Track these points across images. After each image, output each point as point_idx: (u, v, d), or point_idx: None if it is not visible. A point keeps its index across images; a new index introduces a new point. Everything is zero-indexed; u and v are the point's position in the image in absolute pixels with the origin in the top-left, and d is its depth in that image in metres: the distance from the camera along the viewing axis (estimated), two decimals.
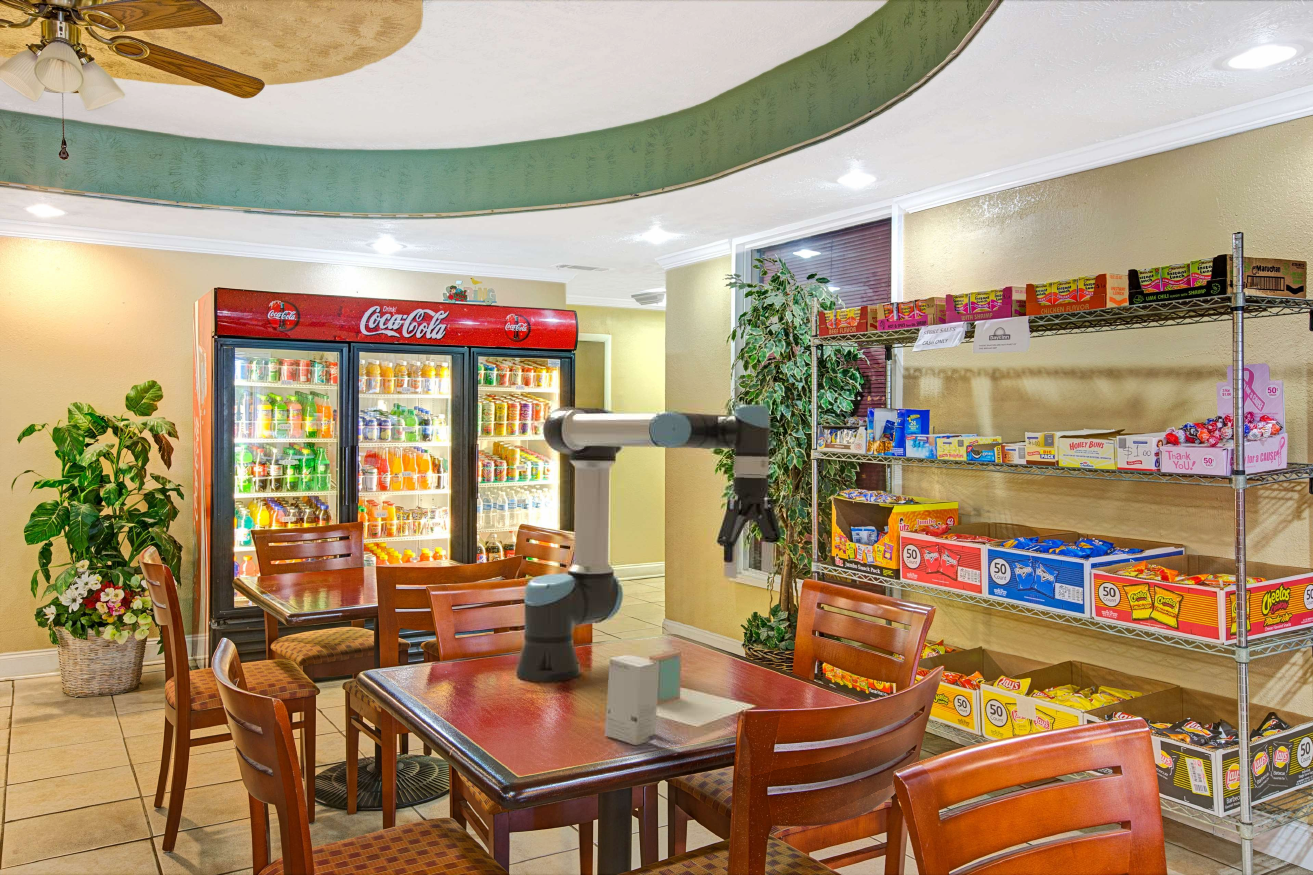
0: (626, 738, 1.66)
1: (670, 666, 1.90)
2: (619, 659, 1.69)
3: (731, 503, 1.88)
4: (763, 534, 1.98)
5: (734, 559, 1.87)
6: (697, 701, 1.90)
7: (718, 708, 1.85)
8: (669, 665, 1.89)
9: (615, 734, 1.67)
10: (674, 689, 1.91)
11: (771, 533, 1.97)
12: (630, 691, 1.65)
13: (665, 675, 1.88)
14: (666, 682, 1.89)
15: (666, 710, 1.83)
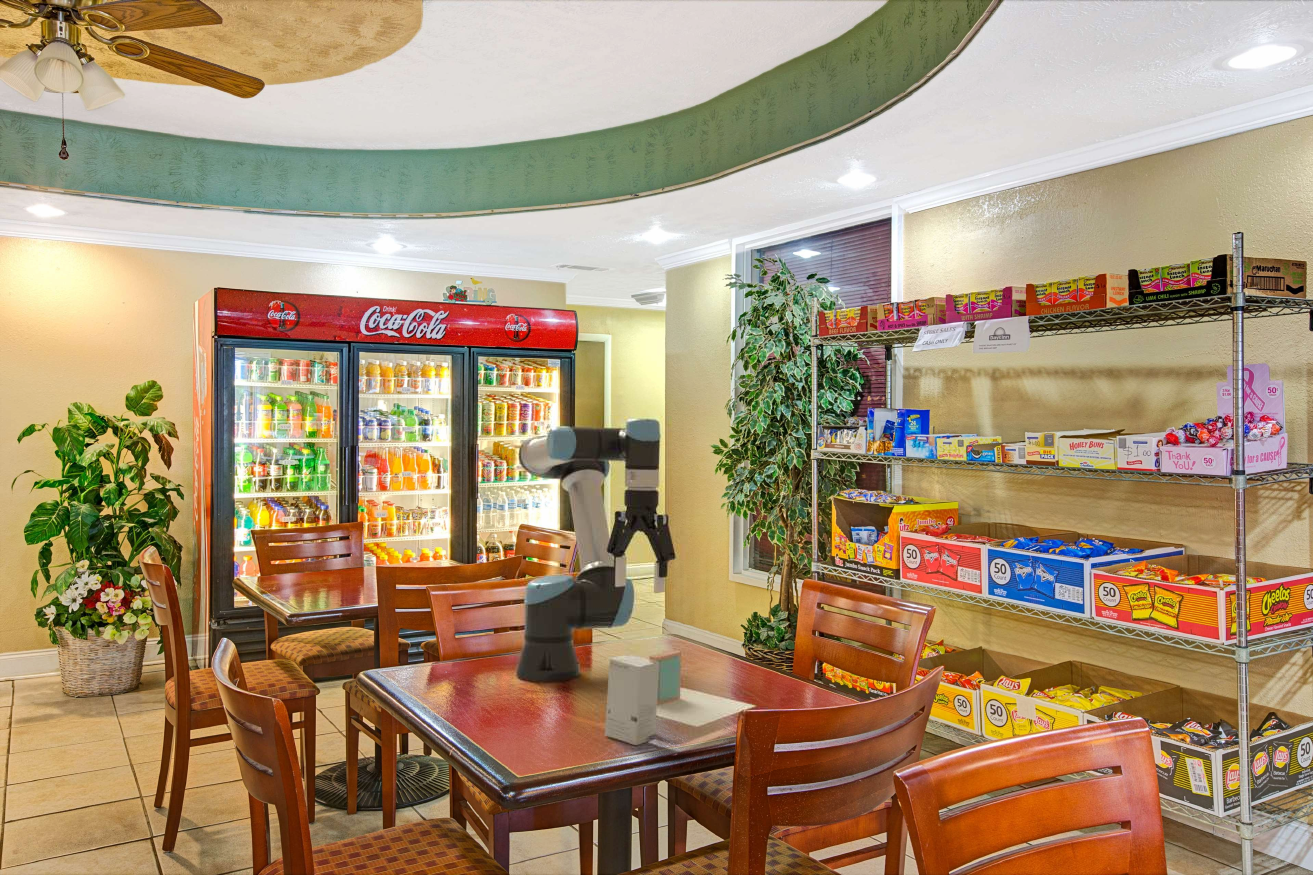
0: (626, 738, 1.66)
1: (670, 666, 1.90)
2: (619, 659, 1.69)
3: None
4: None
5: None
6: (697, 701, 1.90)
7: (718, 708, 1.85)
8: (669, 665, 1.89)
9: (615, 734, 1.67)
10: (674, 689, 1.91)
11: (655, 551, 1.92)
12: (630, 691, 1.65)
13: (665, 675, 1.88)
14: (666, 682, 1.89)
15: (666, 710, 1.83)
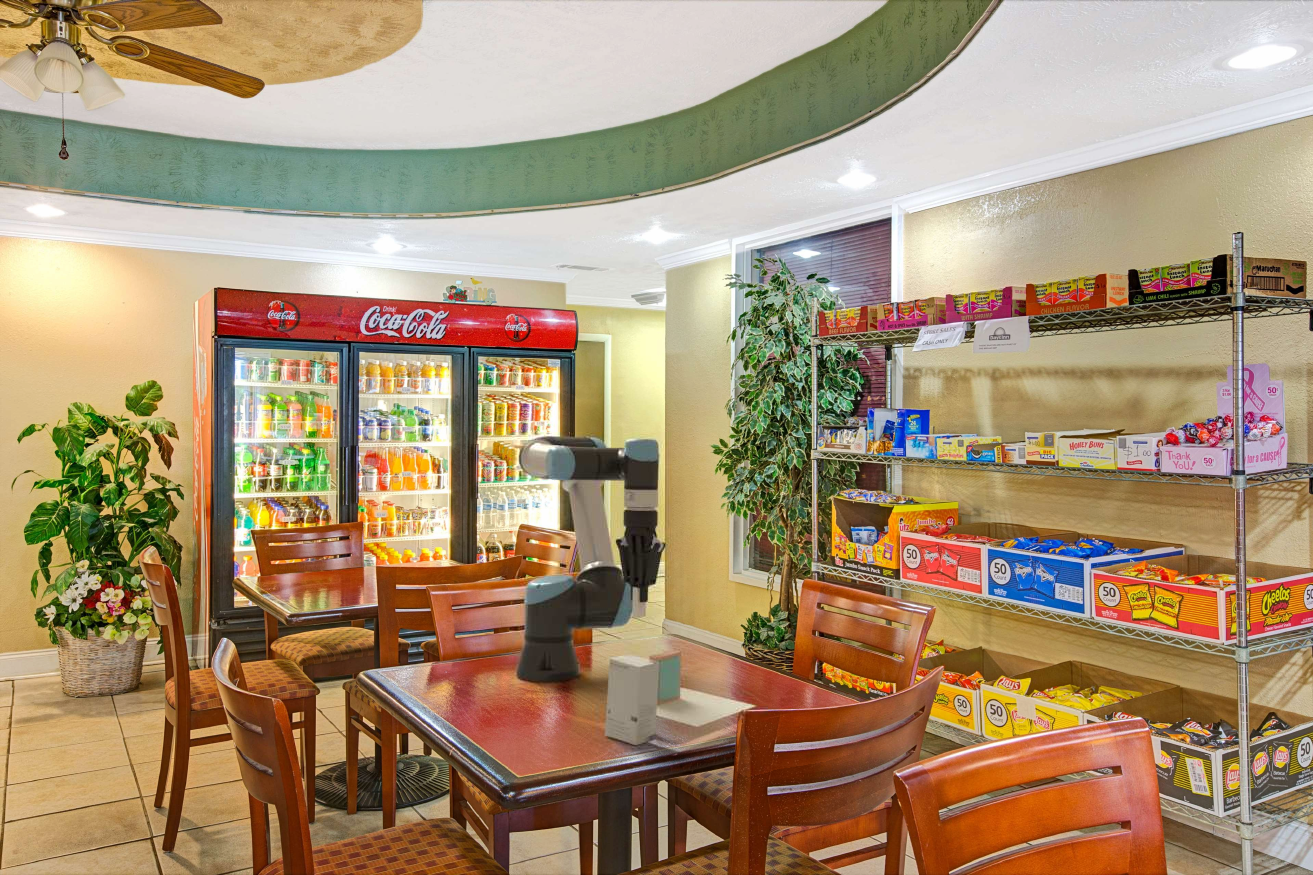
0: (626, 738, 1.66)
1: (670, 666, 1.90)
2: (619, 659, 1.69)
3: None
4: None
5: None
6: (697, 701, 1.90)
7: (718, 708, 1.85)
8: (669, 665, 1.89)
9: (615, 734, 1.67)
10: (674, 689, 1.91)
11: (640, 575, 1.94)
12: (630, 691, 1.65)
13: (665, 675, 1.88)
14: (666, 682, 1.89)
15: (666, 710, 1.83)
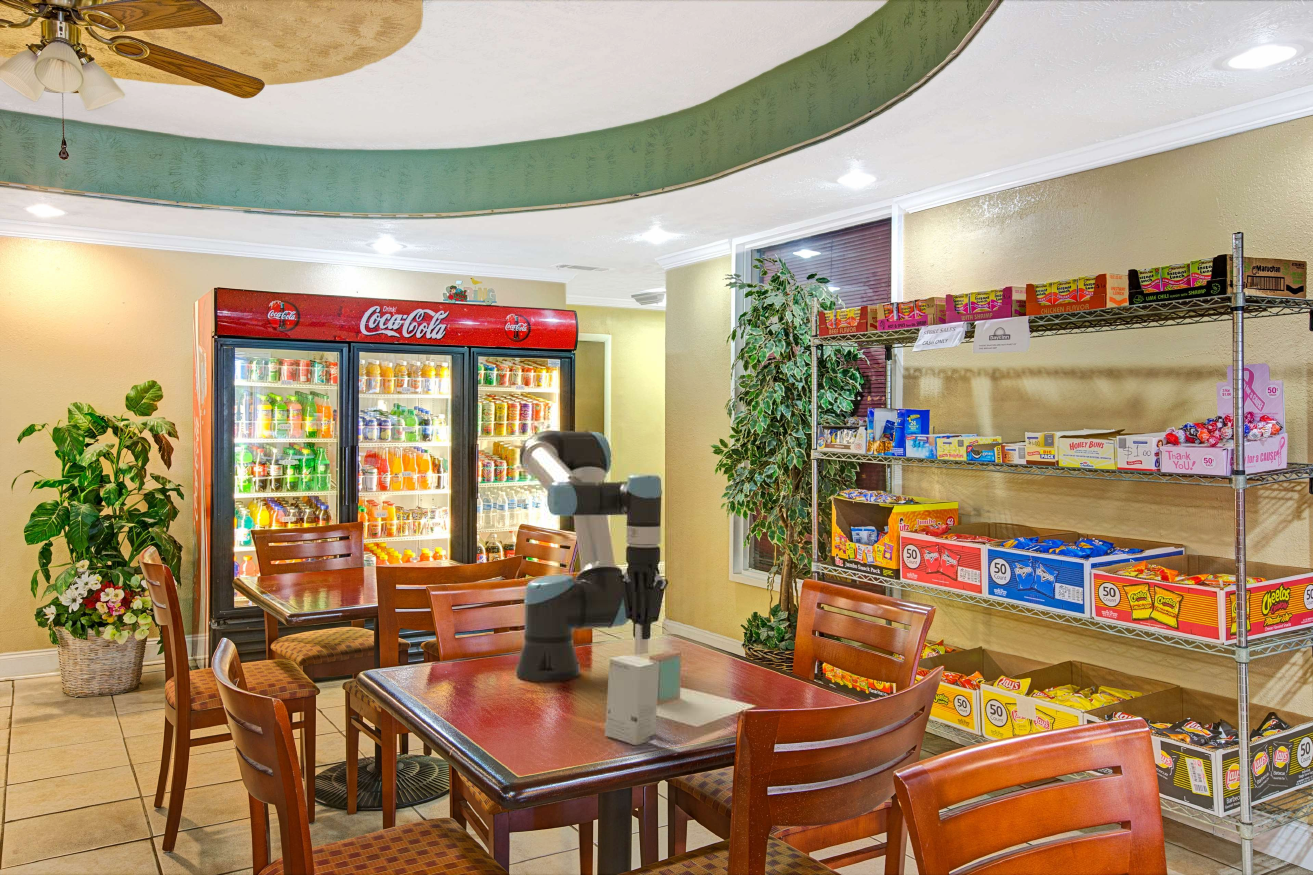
0: (626, 738, 1.66)
1: (670, 666, 1.90)
2: (619, 659, 1.69)
3: None
4: None
5: None
6: (697, 701, 1.90)
7: (718, 708, 1.85)
8: (669, 665, 1.89)
9: (615, 734, 1.67)
10: (674, 689, 1.91)
11: (642, 612, 1.93)
12: (630, 691, 1.65)
13: (665, 675, 1.88)
14: (666, 682, 1.89)
15: (666, 710, 1.83)
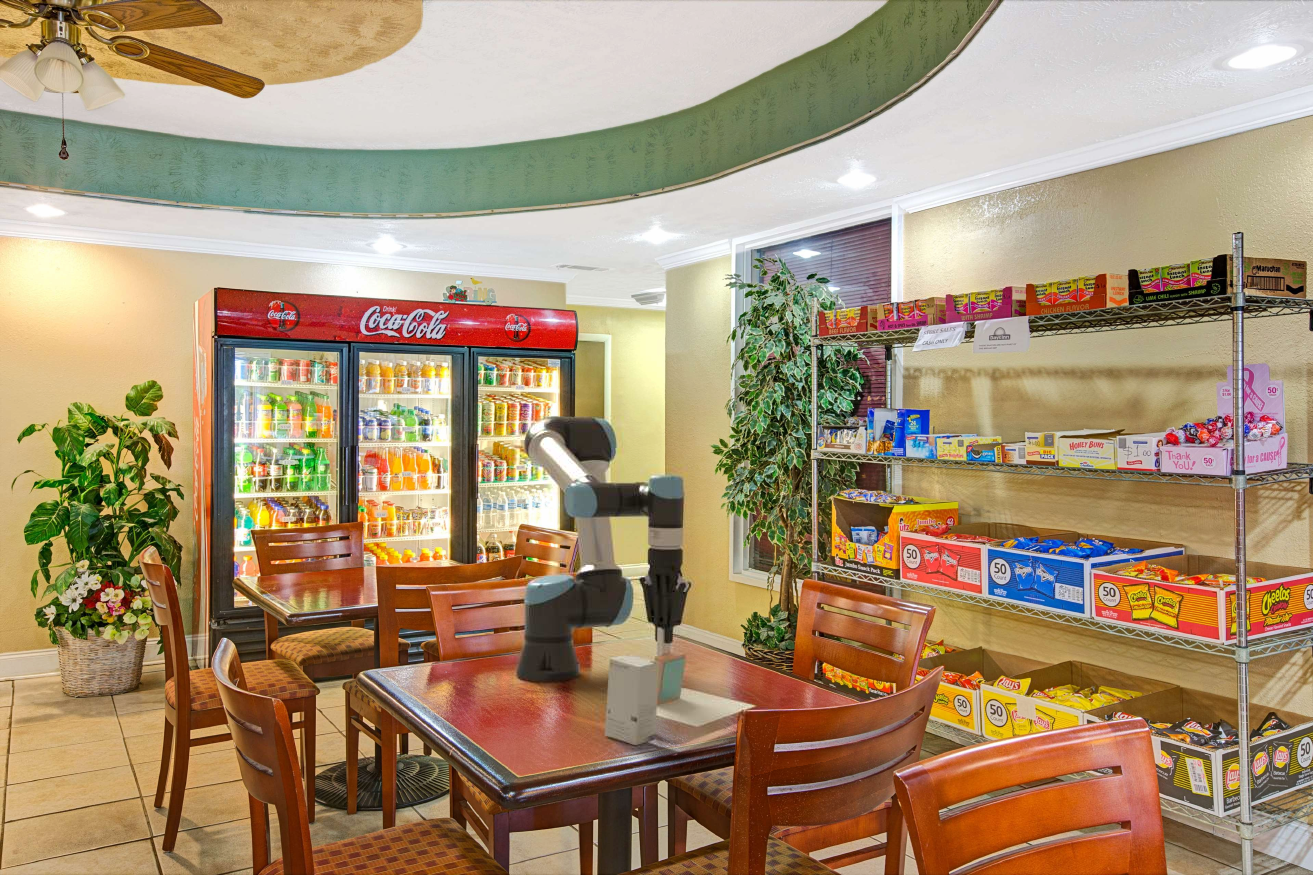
0: (626, 738, 1.66)
1: (674, 668, 1.89)
2: (619, 659, 1.69)
3: None
4: None
5: None
6: (697, 701, 1.90)
7: (718, 708, 1.85)
8: (673, 666, 1.89)
9: (615, 734, 1.67)
10: (675, 690, 1.91)
11: (664, 616, 1.89)
12: (630, 691, 1.65)
13: (668, 676, 1.88)
14: (668, 683, 1.88)
15: (666, 710, 1.83)
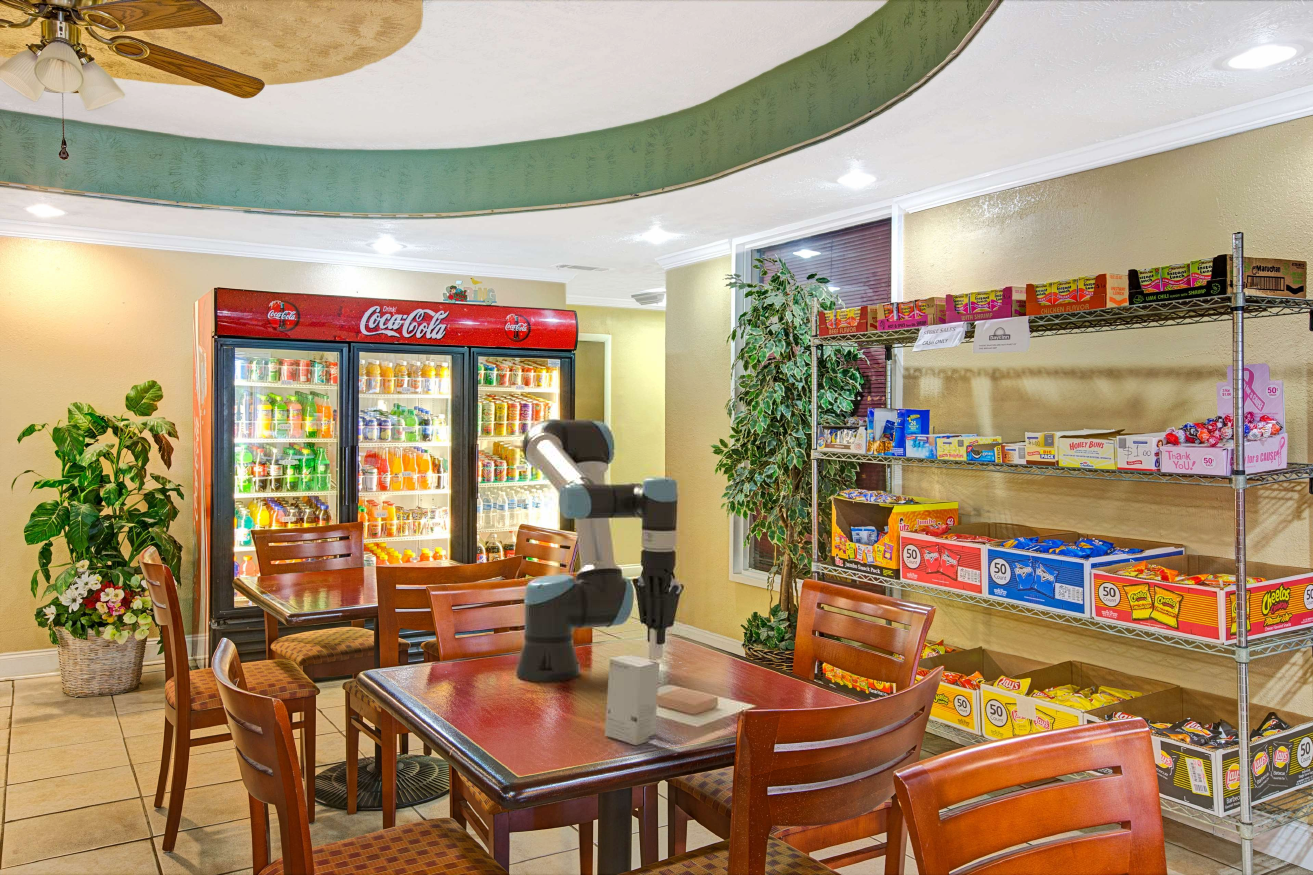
0: (626, 738, 1.66)
1: None
2: (619, 659, 1.69)
3: None
4: None
5: None
6: None
7: (718, 708, 1.85)
8: None
9: (615, 734, 1.67)
10: None
11: (657, 617, 1.91)
12: (630, 691, 1.65)
13: None
14: None
15: (666, 710, 1.83)
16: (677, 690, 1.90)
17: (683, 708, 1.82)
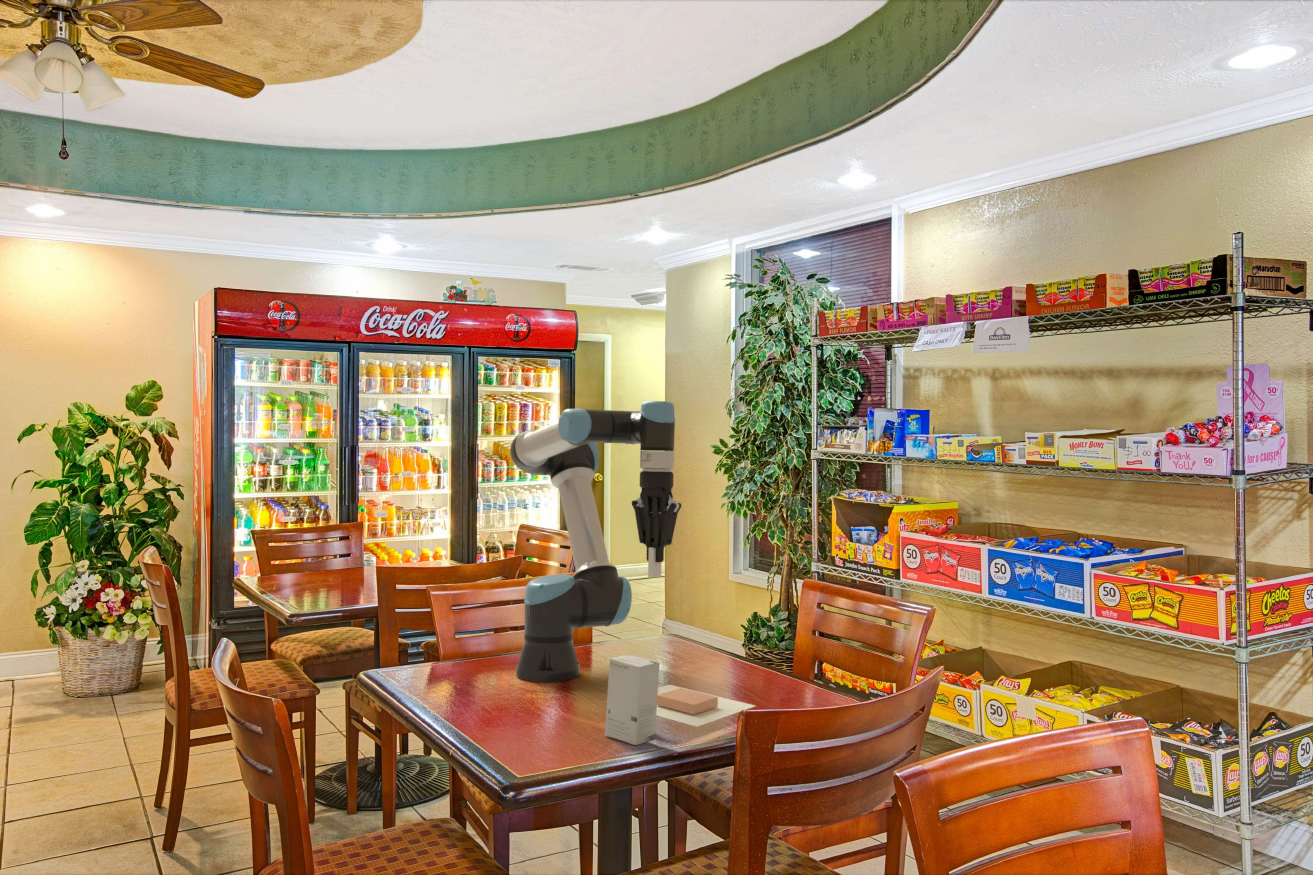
0: (626, 738, 1.66)
1: None
2: (619, 659, 1.69)
3: None
4: None
5: None
6: None
7: (718, 708, 1.85)
8: None
9: (615, 734, 1.67)
10: None
11: (656, 536, 1.97)
12: (630, 691, 1.65)
13: None
14: None
15: (666, 710, 1.83)
16: (677, 690, 1.90)
17: (683, 708, 1.82)
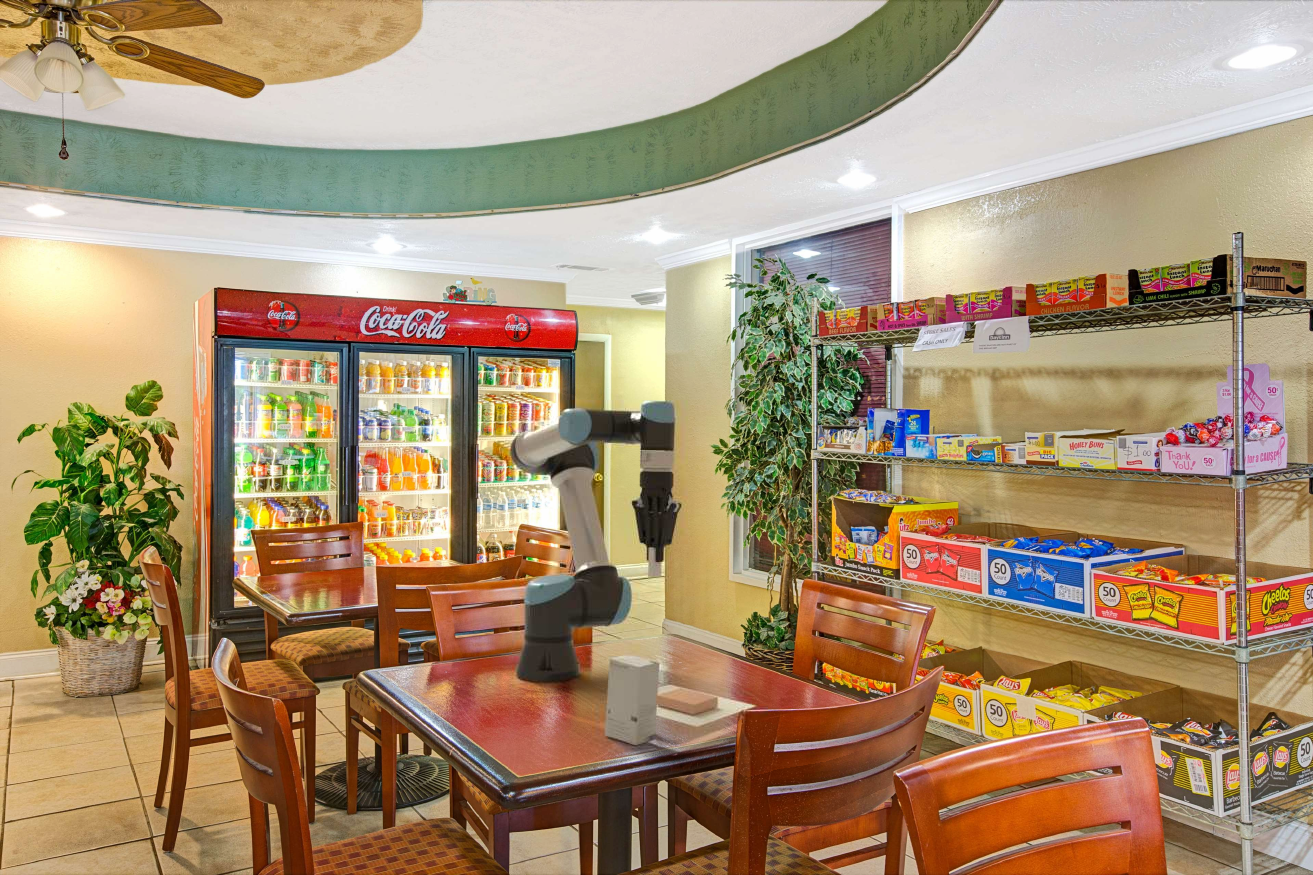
0: (626, 738, 1.66)
1: None
2: (619, 659, 1.69)
3: None
4: None
5: None
6: None
7: (718, 708, 1.85)
8: None
9: (615, 734, 1.67)
10: None
11: (656, 536, 1.97)
12: (630, 691, 1.65)
13: None
14: None
15: (666, 710, 1.83)
16: (677, 690, 1.90)
17: (683, 708, 1.82)
